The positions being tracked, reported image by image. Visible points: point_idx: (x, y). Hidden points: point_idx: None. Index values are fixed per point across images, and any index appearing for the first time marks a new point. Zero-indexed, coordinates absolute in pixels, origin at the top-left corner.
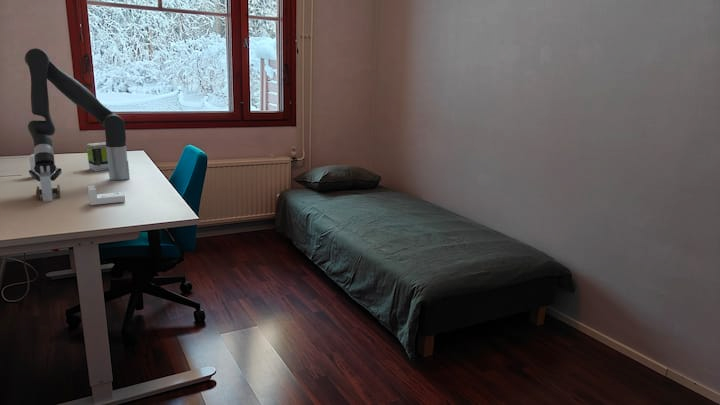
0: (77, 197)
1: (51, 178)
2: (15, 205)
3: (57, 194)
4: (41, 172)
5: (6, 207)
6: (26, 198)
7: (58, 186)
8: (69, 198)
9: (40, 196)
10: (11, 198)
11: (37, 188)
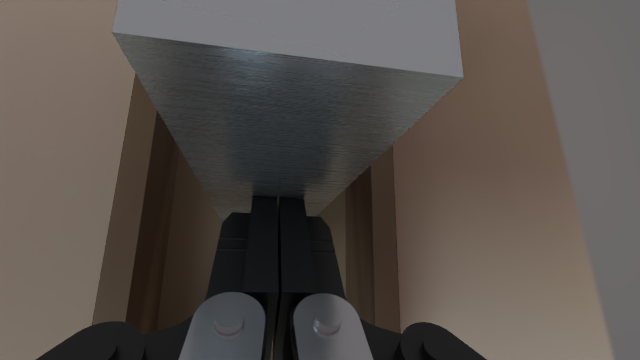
0: (3, 41)
1: (157, 339)
2: (487, 27)
3: (171, 280)
4: (426, 28)
5: (527, 4)
6: (449, 231)
7: (106, 320)
8: (89, 40)
9: (339, 253)
10: (565, 293)
11: (389, 290)
